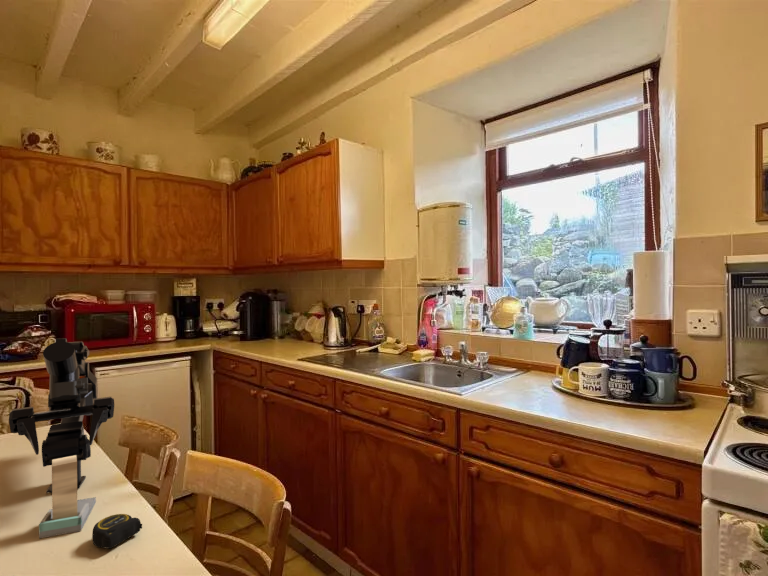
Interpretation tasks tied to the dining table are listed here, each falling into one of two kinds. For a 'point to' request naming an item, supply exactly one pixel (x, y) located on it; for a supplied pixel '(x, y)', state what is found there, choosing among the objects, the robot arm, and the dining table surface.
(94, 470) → the dining table surface
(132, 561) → the dining table surface
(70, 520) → the grey shallow tray
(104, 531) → the tape measure
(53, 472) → the beech post
